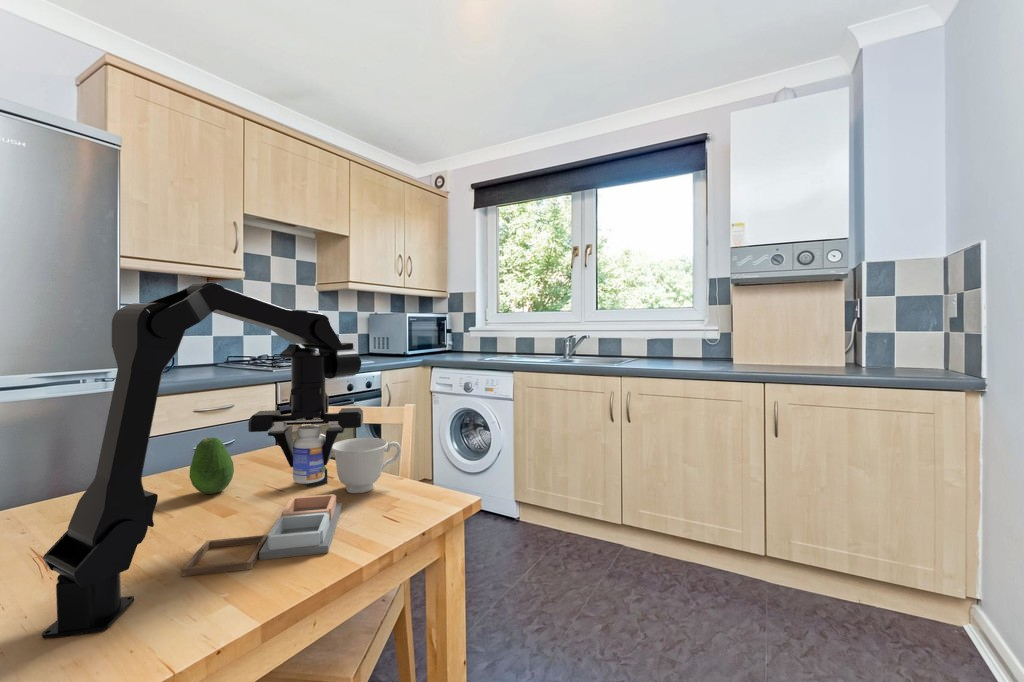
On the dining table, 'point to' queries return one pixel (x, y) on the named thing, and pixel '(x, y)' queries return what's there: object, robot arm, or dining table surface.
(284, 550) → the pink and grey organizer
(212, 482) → the fruit
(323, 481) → the watch
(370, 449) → the teacup
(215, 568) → the tray
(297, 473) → the pill bottle
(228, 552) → the dining table surface
